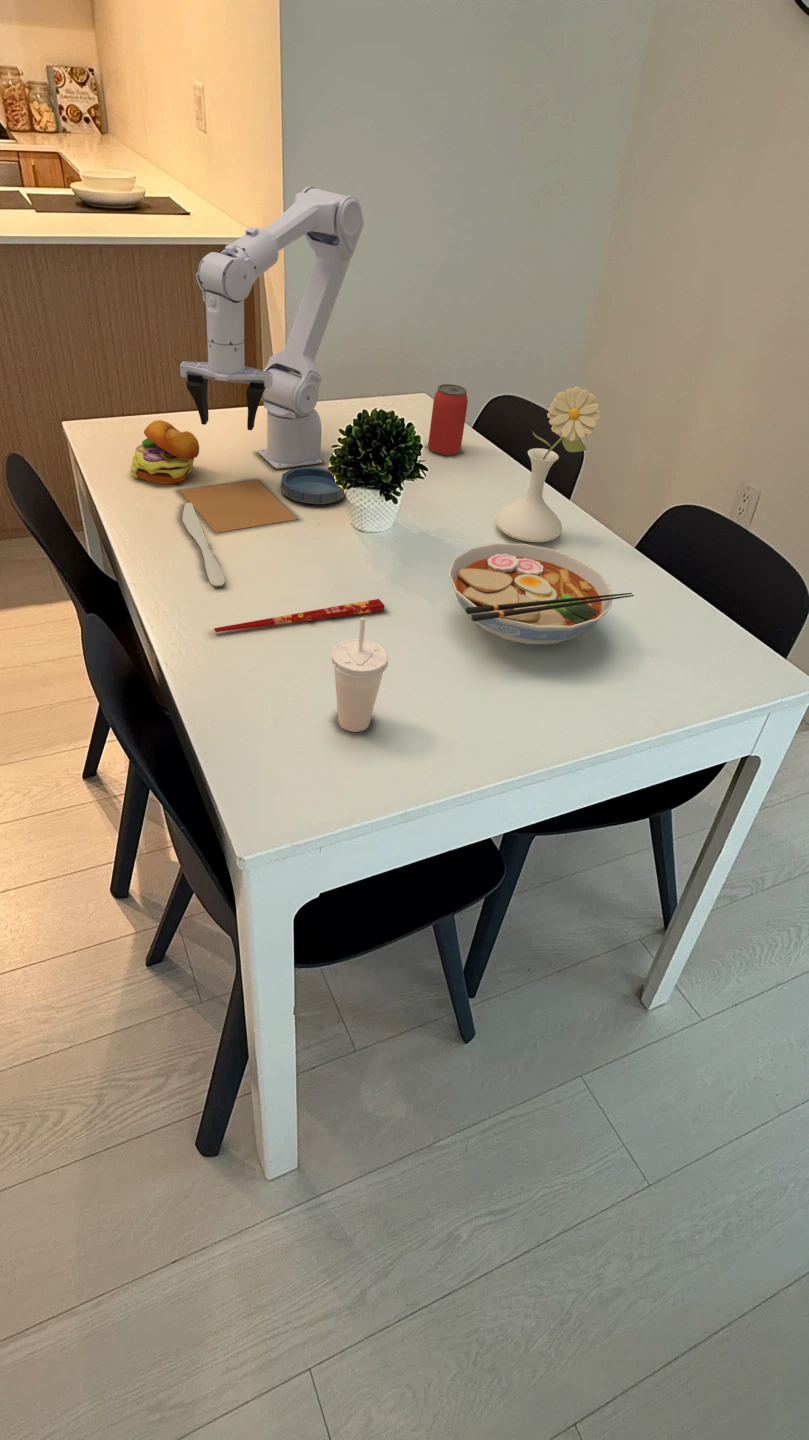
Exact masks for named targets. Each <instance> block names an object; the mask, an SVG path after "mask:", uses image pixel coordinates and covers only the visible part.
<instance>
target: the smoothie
mask: <svg viewBox="0 0 809 1440" xmlns="http://www.w3.org/2000/svg"><path fill="white" fill-rule="evenodd" d="M359 620H360V621H359V631H358V638H352V639H347V640H343V641H340V642H338V643H337V644H336V645H334V647H333V648H332V650H331V657H330V662H331V665H332V667H333V672H334V684H335V697H336V708H337V720H338V721H337V722H338V725H339V726H340V727H341V728H342V729H343V730H346V731H348V732H352V733H359V732H363V731H365V730H367V729H368V728H369V727H370V725H371V720H372V716H373V712H374V709H375V705H376V701H377V696H378V693H379V689H380V685H381V682H382V680H383V679H382V678H383V675H384V672H385V671H386V670H387V668H388V665H389V662H388V661H389V654H388V652H387V650H386V649H385V648H384V647H383V646H381V644H378V643H377V642H374V641H372V640H367V639H365V631H366V630H365V629H366V617H363V616H361V617H360V619H359Z"/></svg>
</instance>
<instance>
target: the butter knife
mask: <svg viewBox="0 0 809 1440" xmlns="http://www.w3.org/2000/svg"><path fill="white" fill-rule="evenodd" d="M181 519H182V522H183V524H184V526H185V528H186V529H187V531H188V533H189V534H190V535H191V536H192V538H193V539H194V540H195V542H196V543H197V545H198V546H199V548H200V550H201V553H202V557H203V560H204V561H203V562H204V567H205V572H206V575H207V578H208V581H209V582H210V584H211V585H212V586H214V587H222V586H224V584H225V581H226V579H225V578H226V577H225V575H224V573H223V570H222V568H221V566H220V564H219V562H218V561H217V559H216V557H215V556H214V555H213V552H212V550H211V549H210V546H209V544H208V542H207V539H206V536H205V533H204V530H203V528H202V525H201V522H200V519H199V517H198V515H197V513H196V509H195V508H194V507H193V504H192V503H190V502H186V503H185V504H184V507H183V512H182V517H181Z"/></svg>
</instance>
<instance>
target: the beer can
mask: <svg viewBox="0 0 809 1440" xmlns="http://www.w3.org/2000/svg"><path fill="white" fill-rule="evenodd" d="M467 392H468V390H467V389H466V388H465V387H463V386H461V385H457V384H454V383H443V384H439V385H438V386H437V390H436V392H435V394H434V397H433V402H432V411H431V420H430V427H429V435H428V443H427V447H428V448H429V451H431V452H433V453H435V454H437V455H440V456H455V455H456V454H459V453H460V452H461V449H462V445H463V438H464V437H463V436H464V429H465V423H466V418H467V417H466V416H467V410H468V404H469V402H468V401H469V400H468V395H467Z"/></svg>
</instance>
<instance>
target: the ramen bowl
mask: <svg viewBox="0 0 809 1440" xmlns="http://www.w3.org/2000/svg"><path fill="white" fill-rule="evenodd" d="M447 576H448V577H449V580H450V583H451V586H452V588H453V591H454V594H455V596H456V598H457V601H458V602H459V604H460V606H461V608H462V610H463V611H464V612H465V613H466V615H468V617H469V618H470V620H471V621H472V622H474V623H476V624H478V625H479V626H480V627H481V628H482V629H483V630H484V631H487V632H489V633H490V634H493V635H495V636H498V637H500V638H502V639H504V640H506V641H511V642H516V643H520V644H524V645H554V644H557V643H561V642H564V641H568V640H571V639H574V638H576V637H578V636H580V635H582V634H583V633H585V632H587V630H589V629H590V628H591V627H593V626H594V625H595V624H596V623H597V622H598V621H600V619H601V618H603V617H604V616H605V615H606V614H607V613H608V612H609V611H610V610H611V608H613V600H618V599H624V598H630V597H635V595H634V594H633V593H632V592H626V593H625V592H624V593H614V590H613V589H612V587H611V586H610V584H609V583H608V582H607V580H606V578H605V577H604V575H603V574H602V573H600V572H599V571H597V570H596V569H594V568H593V567H591V566H590V565H588V564H587V563H586V562H584V561H583V560H581V559H579V558H576V557H574V556H571V555H569V554H566V553H564V552H561V551H559V550H556V549H553V548H549V547H543V546H537V545H532V544H527V543H504V542H494V543H488V544H485V545H479V546H476V547H471V548H469V549H467V550H466V551H464V552H462V553H460V554H459V555H457V556H456V557H454V558H453V559H452V562H451V565H450V567H449V569H448V573H447Z"/></svg>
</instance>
